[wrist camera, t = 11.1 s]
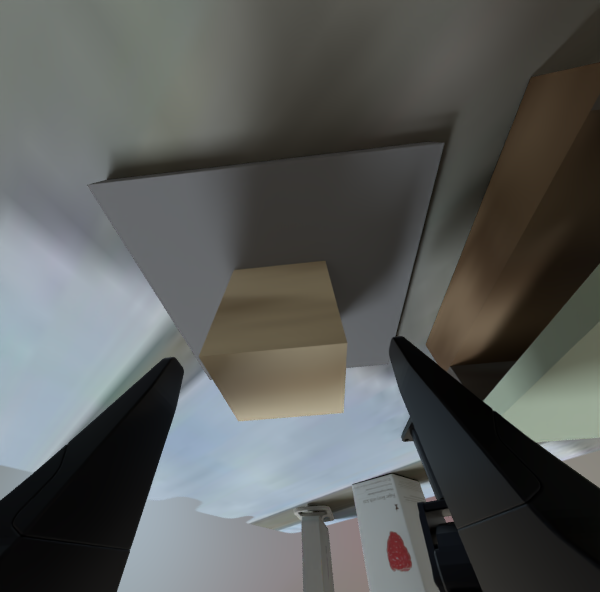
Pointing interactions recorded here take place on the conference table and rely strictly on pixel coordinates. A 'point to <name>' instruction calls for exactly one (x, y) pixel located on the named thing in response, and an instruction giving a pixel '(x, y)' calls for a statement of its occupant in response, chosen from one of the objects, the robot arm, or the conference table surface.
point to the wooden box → (527, 233)
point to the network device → (316, 549)
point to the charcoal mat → (282, 233)
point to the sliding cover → (558, 374)
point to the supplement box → (393, 535)
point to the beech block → (278, 343)
